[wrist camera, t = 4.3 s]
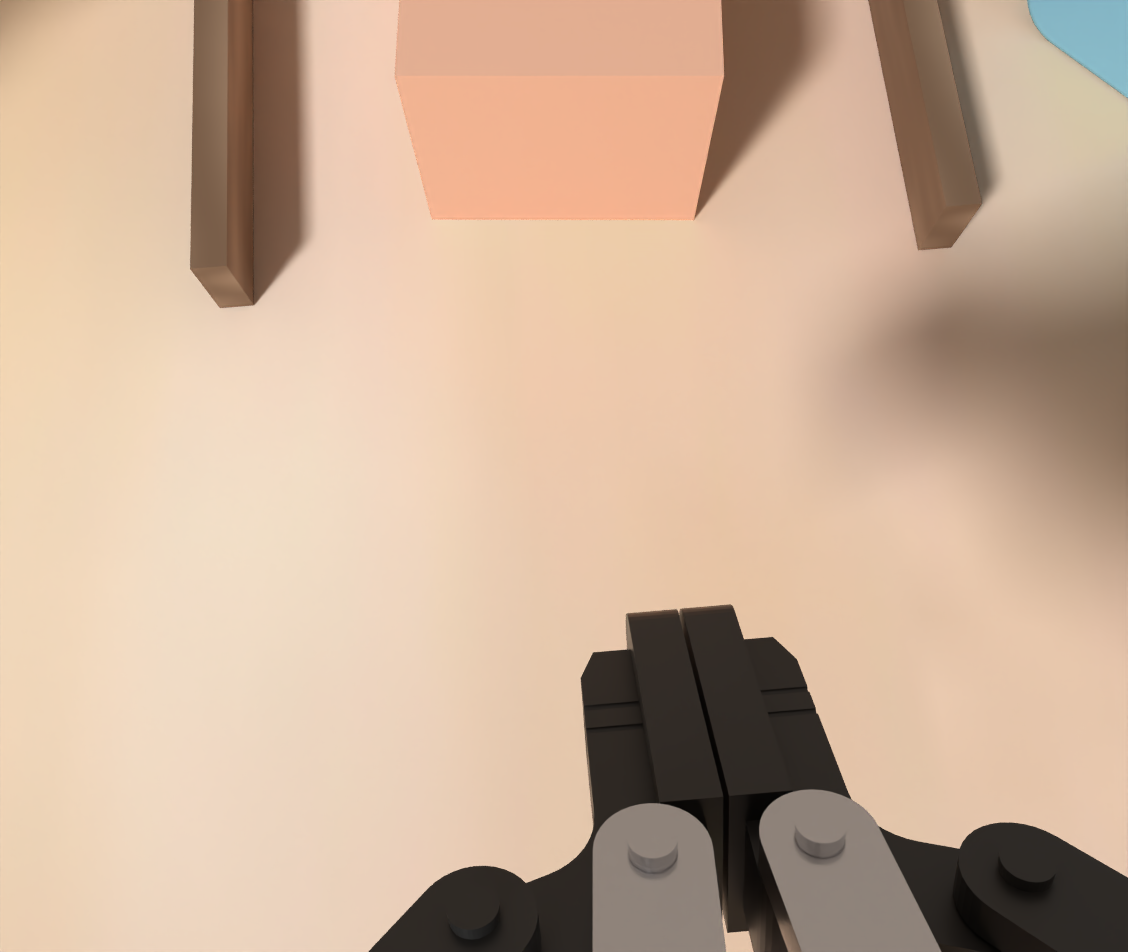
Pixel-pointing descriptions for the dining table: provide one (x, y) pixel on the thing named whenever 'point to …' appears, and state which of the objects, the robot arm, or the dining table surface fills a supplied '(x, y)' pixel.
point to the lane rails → (226, 136)
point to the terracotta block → (560, 105)
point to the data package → (1088, 34)
